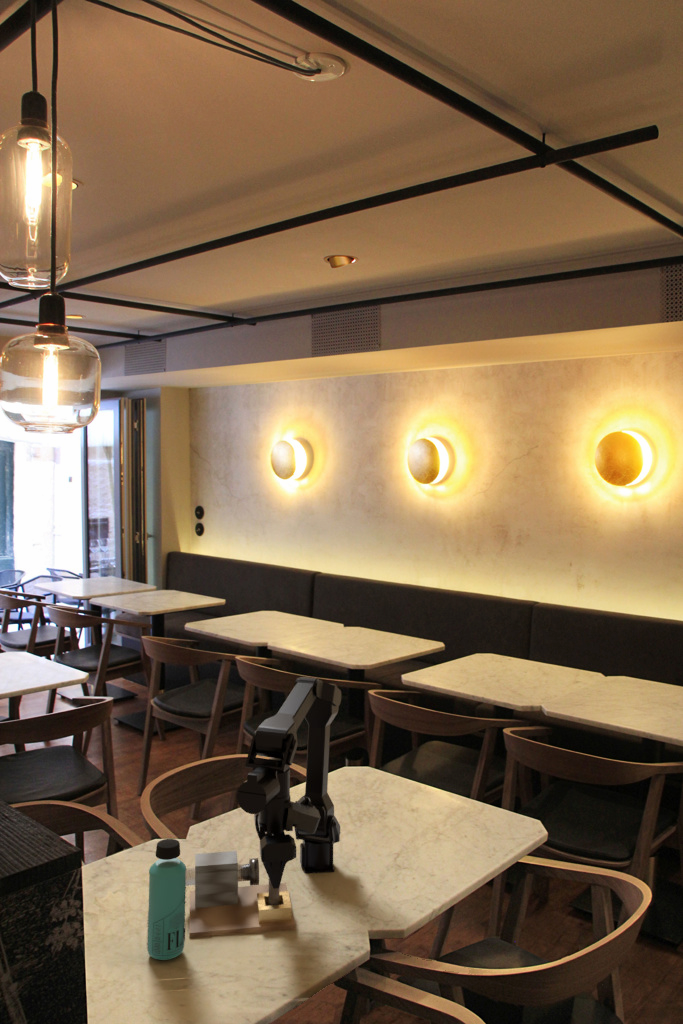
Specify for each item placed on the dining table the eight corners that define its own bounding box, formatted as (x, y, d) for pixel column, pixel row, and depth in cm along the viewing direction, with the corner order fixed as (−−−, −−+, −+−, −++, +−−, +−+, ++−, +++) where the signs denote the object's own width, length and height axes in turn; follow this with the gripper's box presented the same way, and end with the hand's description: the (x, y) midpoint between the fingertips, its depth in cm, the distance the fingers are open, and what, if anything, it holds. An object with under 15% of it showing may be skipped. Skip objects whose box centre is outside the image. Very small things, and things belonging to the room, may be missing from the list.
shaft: (257, 877, 157) (257, 853, 157) (259, 889, 152) (259, 865, 152) (182, 883, 154) (182, 859, 154) (181, 896, 150) (181, 871, 150)
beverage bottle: (165, 974, 132) (169, 854, 131) (137, 960, 135) (140, 844, 135) (192, 955, 137) (196, 840, 137) (164, 943, 141) (168, 831, 140)
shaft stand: (286, 888, 160) (286, 843, 160) (295, 929, 145) (295, 880, 145) (190, 896, 156) (190, 851, 156) (189, 939, 142) (189, 889, 141)
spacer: (288, 903, 152) (288, 891, 152) (291, 920, 146) (291, 907, 146) (256, 906, 151) (256, 893, 151) (258, 923, 145) (258, 910, 145)
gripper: (325, 810, 140) (324, 897, 140) (310, 772, 158) (309, 850, 159) (261, 814, 138) (261, 903, 138) (254, 776, 156) (253, 854, 157)
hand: (273, 875), depth 148 cm, fingers open, 9 cm apart
